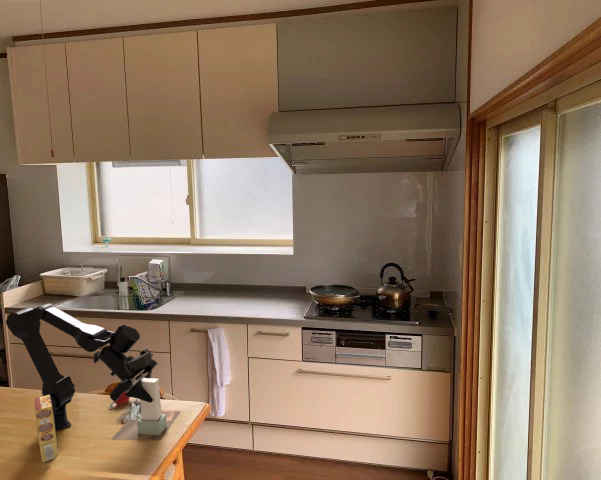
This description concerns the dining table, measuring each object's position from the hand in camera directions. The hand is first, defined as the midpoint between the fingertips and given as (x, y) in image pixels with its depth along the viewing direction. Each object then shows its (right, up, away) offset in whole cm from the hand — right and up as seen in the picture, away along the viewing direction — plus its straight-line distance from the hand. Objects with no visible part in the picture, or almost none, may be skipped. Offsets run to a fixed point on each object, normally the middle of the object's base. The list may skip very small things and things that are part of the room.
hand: (154, 399), depth 135 cm
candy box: (-28, -13, -7) cm, 32 cm away
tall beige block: (-1, -6, +1) cm, 6 cm away
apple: (-18, -10, +20) cm, 29 cm away
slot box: (-1, -10, +1) cm, 10 cm away
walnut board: (-4, -11, +5) cm, 12 cm away
